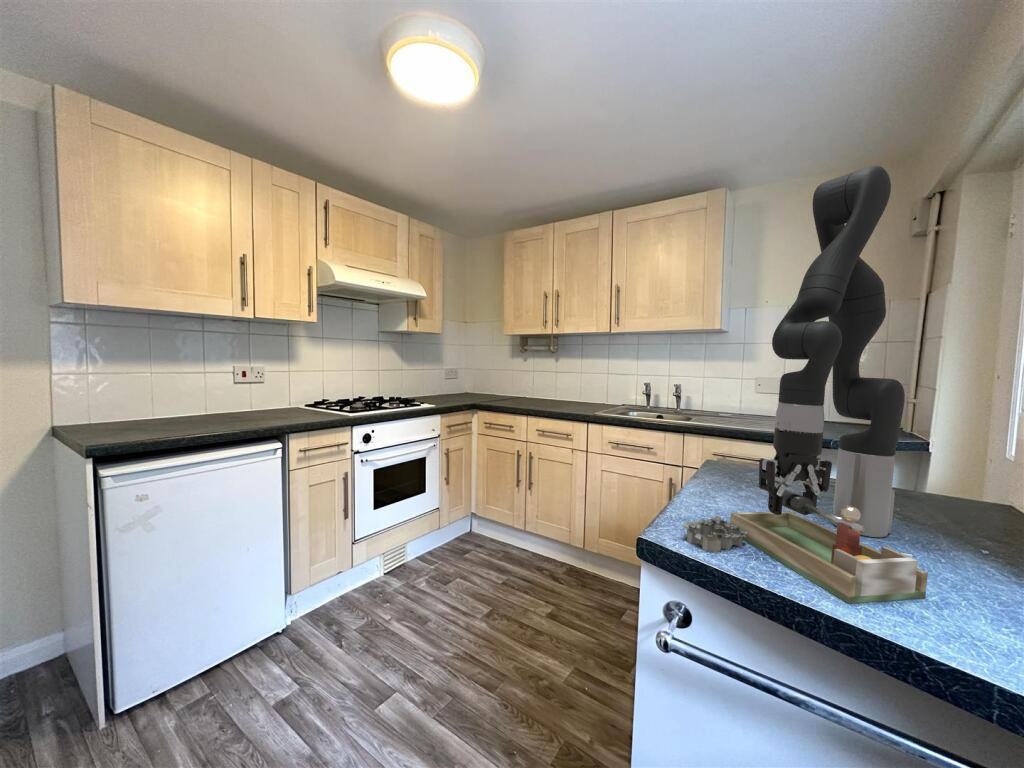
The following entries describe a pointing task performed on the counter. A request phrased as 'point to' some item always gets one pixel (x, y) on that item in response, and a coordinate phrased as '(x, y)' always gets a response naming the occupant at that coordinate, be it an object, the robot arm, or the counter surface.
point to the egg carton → (714, 534)
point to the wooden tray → (848, 575)
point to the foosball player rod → (846, 527)
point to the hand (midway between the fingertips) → (791, 512)
